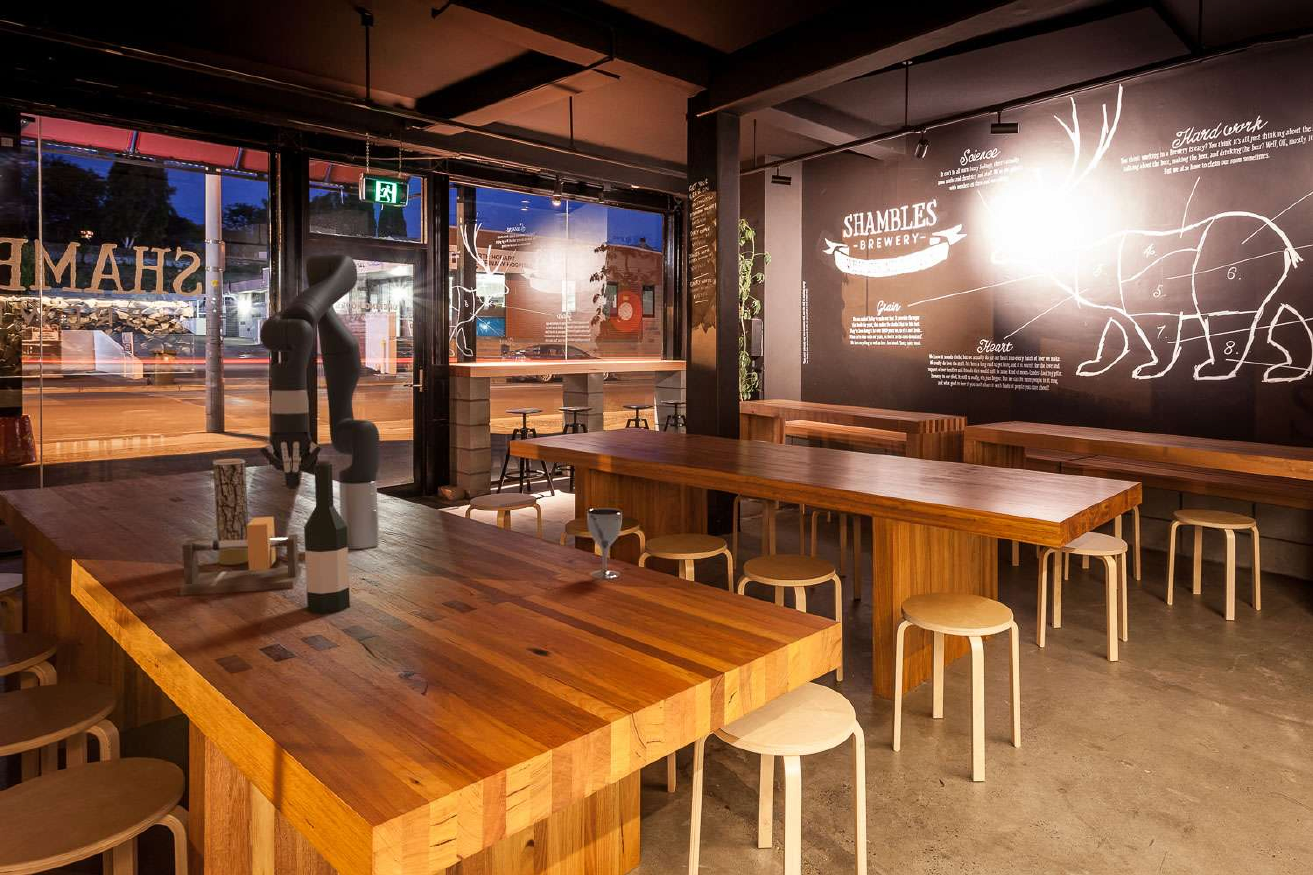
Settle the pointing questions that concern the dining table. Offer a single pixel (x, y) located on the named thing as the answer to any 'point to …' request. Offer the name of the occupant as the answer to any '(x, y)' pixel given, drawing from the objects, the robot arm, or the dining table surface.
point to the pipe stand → (238, 579)
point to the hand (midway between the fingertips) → (293, 488)
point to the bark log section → (231, 507)
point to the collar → (260, 543)
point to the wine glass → (604, 535)
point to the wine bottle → (326, 549)
